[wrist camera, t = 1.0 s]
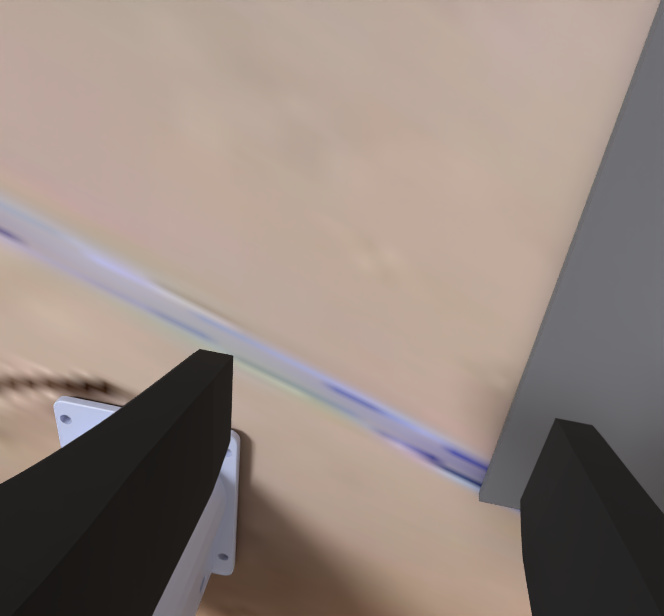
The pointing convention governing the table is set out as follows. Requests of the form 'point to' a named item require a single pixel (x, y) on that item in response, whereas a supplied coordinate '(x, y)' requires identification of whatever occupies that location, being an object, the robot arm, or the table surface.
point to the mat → (604, 309)
